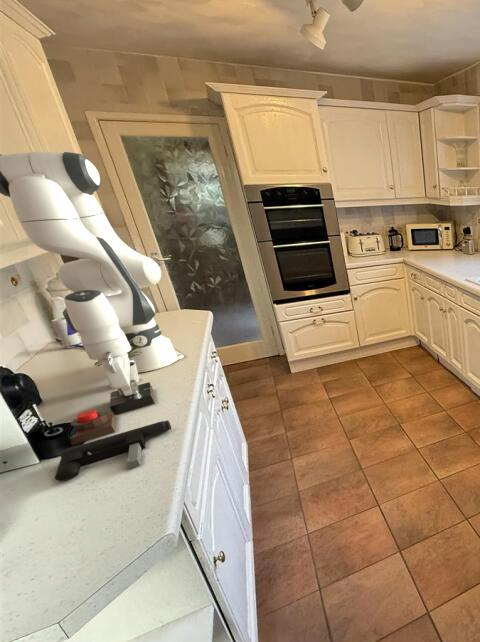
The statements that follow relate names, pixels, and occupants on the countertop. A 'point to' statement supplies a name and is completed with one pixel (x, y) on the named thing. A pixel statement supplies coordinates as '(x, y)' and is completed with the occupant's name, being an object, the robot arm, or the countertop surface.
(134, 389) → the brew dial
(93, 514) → the countertop surface
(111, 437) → the black gun
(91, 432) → the power base
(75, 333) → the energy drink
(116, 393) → the dial panel
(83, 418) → the power button
